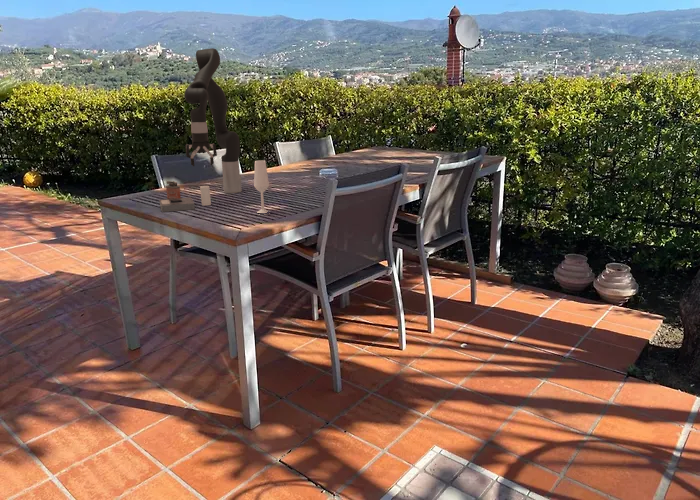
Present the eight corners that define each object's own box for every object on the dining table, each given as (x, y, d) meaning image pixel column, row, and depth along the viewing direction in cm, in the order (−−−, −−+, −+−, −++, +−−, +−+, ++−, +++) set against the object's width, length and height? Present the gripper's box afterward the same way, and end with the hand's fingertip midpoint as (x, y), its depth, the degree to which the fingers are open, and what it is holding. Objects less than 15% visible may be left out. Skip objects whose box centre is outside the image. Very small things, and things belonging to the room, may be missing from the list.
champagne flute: (272, 211, 239) (269, 160, 231) (267, 214, 232) (264, 162, 225) (259, 210, 240) (256, 159, 233) (253, 214, 234) (250, 161, 227)
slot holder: (191, 203, 257) (190, 196, 256) (194, 209, 244) (194, 202, 243) (160, 205, 251) (159, 199, 250) (161, 212, 238) (161, 205, 237)
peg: (209, 203, 256) (208, 185, 254) (210, 205, 253) (209, 187, 250) (201, 204, 255) (200, 186, 252) (202, 205, 251) (201, 187, 249)
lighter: (182, 200, 264) (180, 181, 261) (178, 201, 261) (176, 182, 258) (169, 199, 267) (167, 180, 263) (165, 200, 263) (163, 181, 260)
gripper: (213, 130, 249) (216, 164, 254) (183, 131, 244) (186, 165, 249) (215, 131, 242) (218, 166, 247) (184, 132, 237) (188, 167, 242)
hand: (202, 165), depth 248 cm, fingers open, 8 cm apart
